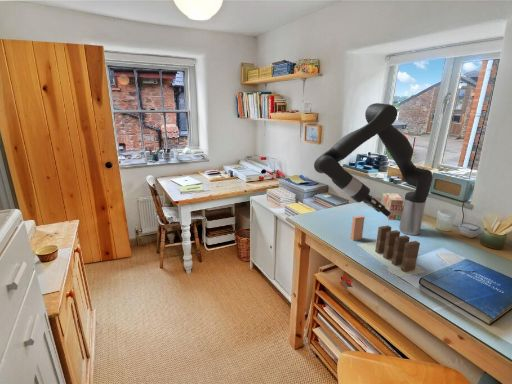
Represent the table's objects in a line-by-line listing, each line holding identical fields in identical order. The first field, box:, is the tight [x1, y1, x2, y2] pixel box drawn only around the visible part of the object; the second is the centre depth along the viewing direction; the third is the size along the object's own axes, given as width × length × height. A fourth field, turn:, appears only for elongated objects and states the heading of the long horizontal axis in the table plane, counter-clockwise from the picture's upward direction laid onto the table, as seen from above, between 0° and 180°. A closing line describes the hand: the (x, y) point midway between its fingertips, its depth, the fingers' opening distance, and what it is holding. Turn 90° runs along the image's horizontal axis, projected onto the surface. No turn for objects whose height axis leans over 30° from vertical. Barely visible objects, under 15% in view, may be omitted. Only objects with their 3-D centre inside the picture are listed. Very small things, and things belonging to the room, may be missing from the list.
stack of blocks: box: [380, 192, 404, 221], centre depth 169 cm, size 21×6×12 cm, turn 169°
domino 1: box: [375, 225, 392, 254], centre depth 124 cm, size 2×5×12 cm, turn 107°
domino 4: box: [401, 240, 421, 272], centre depth 110 cm, size 2×5×12 cm, turn 107°
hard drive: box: [435, 252, 463, 266], centre depth 118 cm, size 2×8×12 cm
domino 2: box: [383, 229, 401, 259], centre depth 120 cm, size 2×5×12 cm, turn 107°
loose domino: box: [350, 215, 365, 241], centre depth 136 cm, size 2×5×12 cm, turn 107°
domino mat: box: [357, 240, 426, 278], centre depth 122 cm, size 27×12×1 cm, turn 17°
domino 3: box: [392, 234, 411, 266], centre depth 115 cm, size 2×5×12 cm, turn 107°
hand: (384, 212), depth 119 cm, fingers open, 8 cm apart
